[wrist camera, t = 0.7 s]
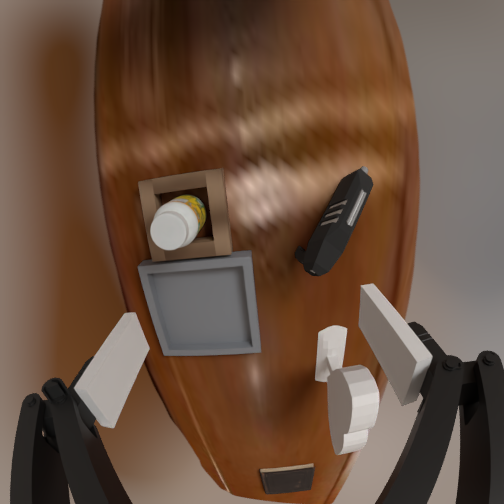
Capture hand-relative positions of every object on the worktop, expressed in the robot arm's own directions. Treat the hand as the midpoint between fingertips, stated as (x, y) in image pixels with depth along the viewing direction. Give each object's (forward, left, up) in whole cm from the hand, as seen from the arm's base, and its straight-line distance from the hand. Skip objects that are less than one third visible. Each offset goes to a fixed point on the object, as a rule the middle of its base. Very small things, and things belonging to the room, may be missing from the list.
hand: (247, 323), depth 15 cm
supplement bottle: (-2, -8, -23) cm, 25 cm away
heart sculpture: (+25, +12, -23) cm, 36 cm away
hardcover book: (+82, +4, -24) cm, 85 cm away
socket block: (-2, -8, -23) cm, 25 cm away
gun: (-1, +11, -24) cm, 26 cm away
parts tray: (+12, -8, -23) cm, 27 cm away
